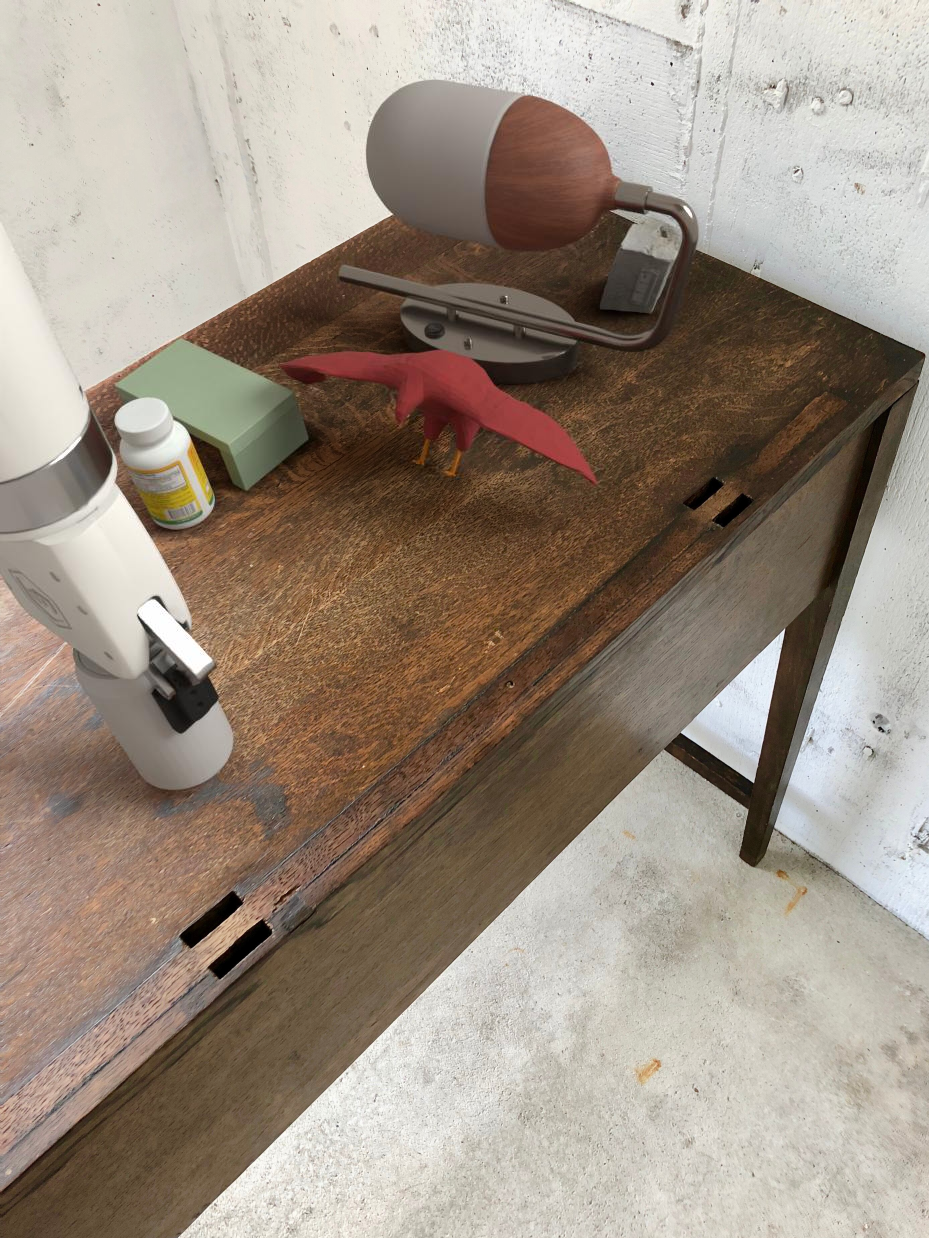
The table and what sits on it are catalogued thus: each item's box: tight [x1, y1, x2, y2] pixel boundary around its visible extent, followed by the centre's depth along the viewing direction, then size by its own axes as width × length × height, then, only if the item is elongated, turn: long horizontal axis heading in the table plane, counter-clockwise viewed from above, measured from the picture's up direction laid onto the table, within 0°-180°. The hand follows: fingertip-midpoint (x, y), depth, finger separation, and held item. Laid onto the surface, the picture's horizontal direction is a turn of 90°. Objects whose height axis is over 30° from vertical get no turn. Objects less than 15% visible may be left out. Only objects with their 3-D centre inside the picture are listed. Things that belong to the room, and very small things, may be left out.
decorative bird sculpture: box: [278, 350, 599, 487], centre depth 76 cm, size 28×9×15 cm
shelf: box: [113, 337, 310, 492], centre depth 81 cm, size 14×8×5 cm, turn 54°
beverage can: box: [72, 634, 234, 791], centre depth 59 cm, size 6×6×12 cm
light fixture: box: [338, 79, 700, 385], centre depth 79 cm, size 11×22×34 cm
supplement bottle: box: [113, 398, 216, 531], centre depth 74 cm, size 5×5×10 cm
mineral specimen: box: [599, 215, 682, 314], centre depth 87 cm, size 7×9×8 cm
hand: (155, 685), depth 58 cm, fingers closed on beverage can, 6 cm apart
